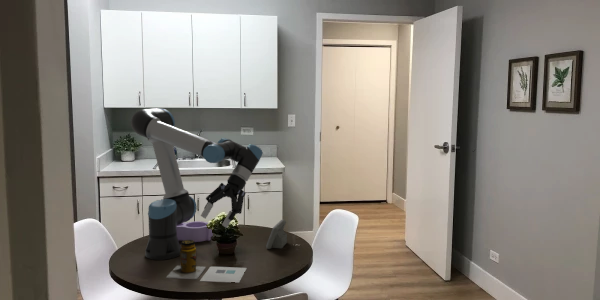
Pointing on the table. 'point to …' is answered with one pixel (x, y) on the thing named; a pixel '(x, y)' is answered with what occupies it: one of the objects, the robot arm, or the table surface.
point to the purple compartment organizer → (194, 231)
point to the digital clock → (277, 236)
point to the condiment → (187, 258)
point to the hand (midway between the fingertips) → (213, 221)
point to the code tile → (223, 274)
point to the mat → (189, 276)
